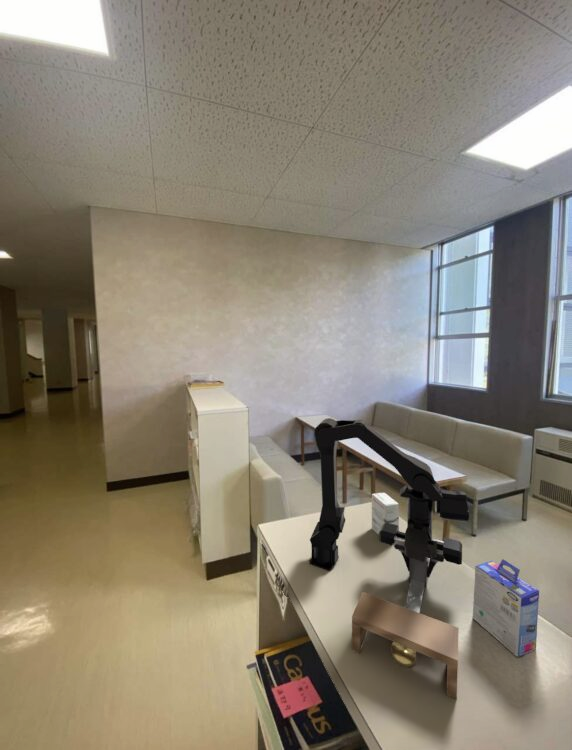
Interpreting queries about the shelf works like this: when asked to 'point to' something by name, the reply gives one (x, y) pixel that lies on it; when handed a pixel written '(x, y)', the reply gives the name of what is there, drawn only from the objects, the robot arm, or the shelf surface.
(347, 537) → the shelf surface
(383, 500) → the ink box
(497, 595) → the ink cartridge box
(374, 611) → the walnut shelf
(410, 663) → the gold round piece
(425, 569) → the grey bar
